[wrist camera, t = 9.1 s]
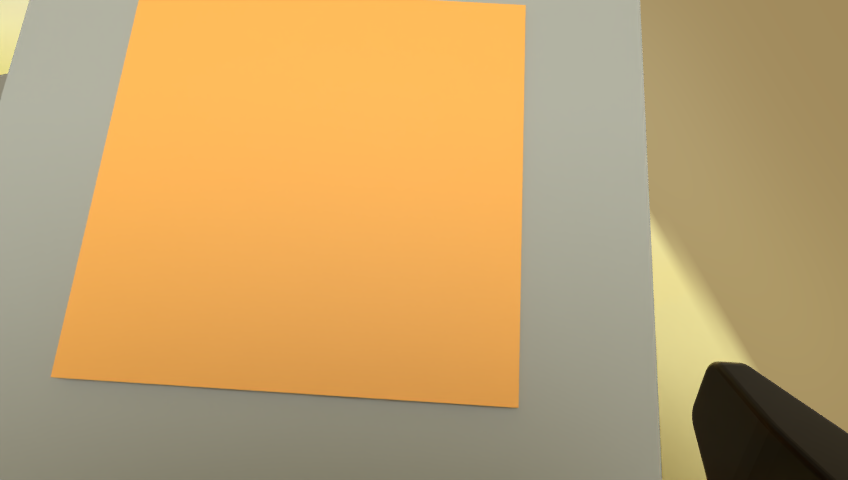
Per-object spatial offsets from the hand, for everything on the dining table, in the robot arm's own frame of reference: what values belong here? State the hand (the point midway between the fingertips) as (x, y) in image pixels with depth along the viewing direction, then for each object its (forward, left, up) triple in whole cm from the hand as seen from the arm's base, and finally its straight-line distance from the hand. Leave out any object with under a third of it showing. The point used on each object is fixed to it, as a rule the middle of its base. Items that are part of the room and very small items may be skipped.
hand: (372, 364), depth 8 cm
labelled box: (+1, 0, -8) cm, 8 cm away
